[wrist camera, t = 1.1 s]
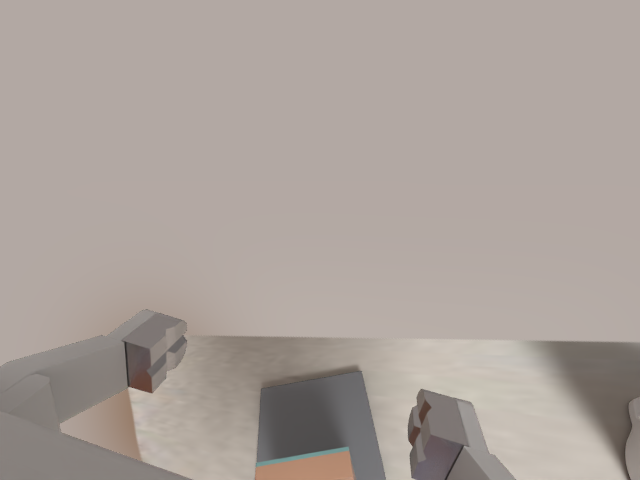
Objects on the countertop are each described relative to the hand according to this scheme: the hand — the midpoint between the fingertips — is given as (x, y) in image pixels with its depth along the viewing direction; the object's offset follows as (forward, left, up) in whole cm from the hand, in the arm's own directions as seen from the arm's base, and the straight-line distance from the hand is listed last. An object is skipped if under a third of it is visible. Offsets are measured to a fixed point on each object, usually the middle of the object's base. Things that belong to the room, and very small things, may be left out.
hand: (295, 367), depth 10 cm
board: (+3, -7, -32) cm, 33 cm away
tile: (+3, -3, -30) cm, 30 cm away
